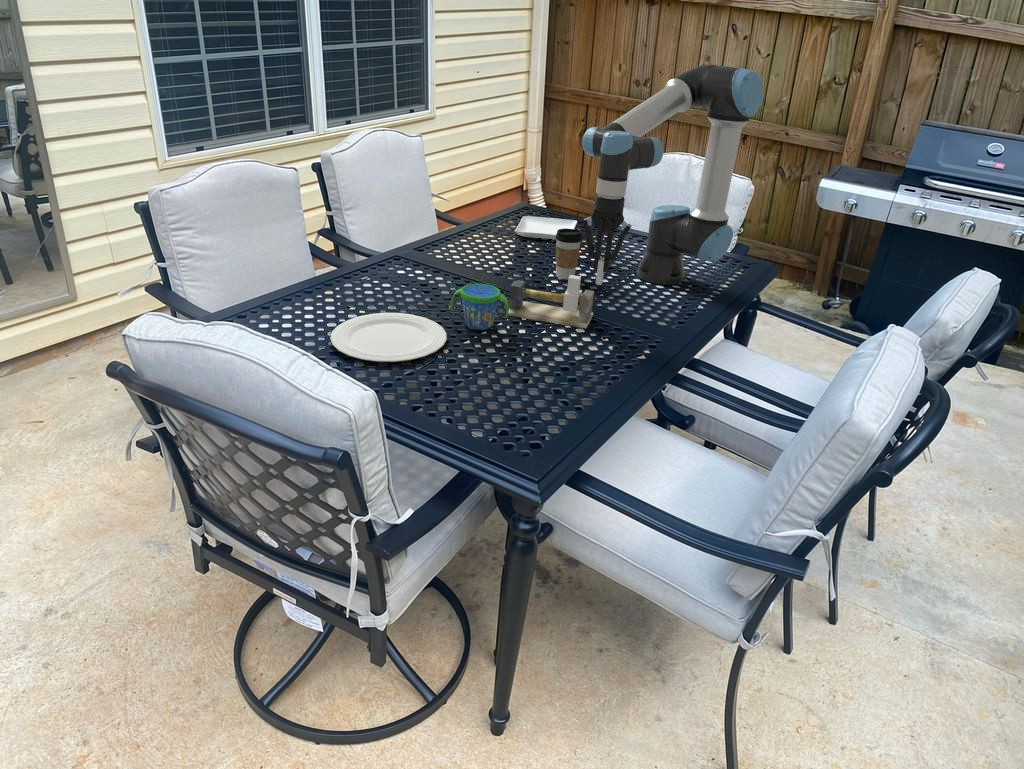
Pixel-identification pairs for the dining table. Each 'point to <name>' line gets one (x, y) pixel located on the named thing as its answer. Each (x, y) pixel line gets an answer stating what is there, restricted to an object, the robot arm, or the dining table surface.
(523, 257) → the dining table surface
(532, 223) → the salad plate
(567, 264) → the coffee cup
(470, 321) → the snack cup
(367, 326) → the plate
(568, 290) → the sleeve
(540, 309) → the lead screw slide rig
